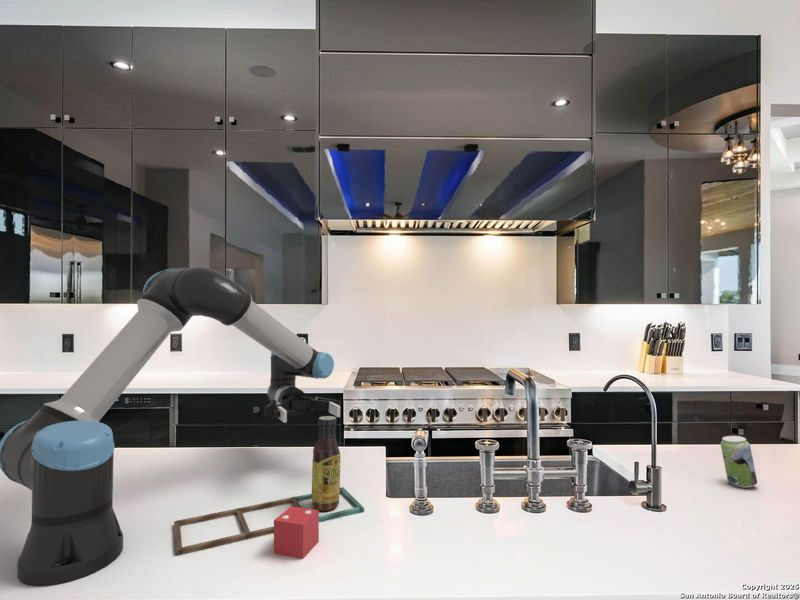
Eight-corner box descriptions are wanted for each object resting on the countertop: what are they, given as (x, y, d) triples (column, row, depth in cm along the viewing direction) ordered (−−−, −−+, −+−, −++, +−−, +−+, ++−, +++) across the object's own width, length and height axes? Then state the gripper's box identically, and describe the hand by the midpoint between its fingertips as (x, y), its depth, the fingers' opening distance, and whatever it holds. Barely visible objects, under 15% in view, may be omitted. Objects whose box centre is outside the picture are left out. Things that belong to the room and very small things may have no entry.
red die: (273, 553, 81) (273, 519, 81) (290, 537, 87) (290, 505, 87) (303, 558, 79) (303, 523, 80) (318, 541, 85) (318, 509, 85)
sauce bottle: (324, 515, 96) (324, 423, 96) (305, 507, 100) (305, 418, 100) (346, 504, 101) (346, 417, 102) (327, 497, 105) (327, 413, 106)
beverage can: (763, 490, 109) (762, 441, 109) (733, 490, 109) (732, 440, 110) (744, 480, 115) (743, 433, 116) (715, 480, 116) (714, 433, 116)
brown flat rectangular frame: (176, 555, 80) (176, 551, 80) (174, 525, 92) (174, 521, 92) (364, 511, 98) (364, 507, 98) (342, 490, 109) (342, 487, 109)
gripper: (331, 408, 135) (359, 424, 116) (245, 417, 123) (260, 435, 104) (332, 383, 135) (359, 395, 116) (246, 389, 123) (261, 403, 105)
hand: (312, 414), depth 110 cm, fingers open, 13 cm apart
